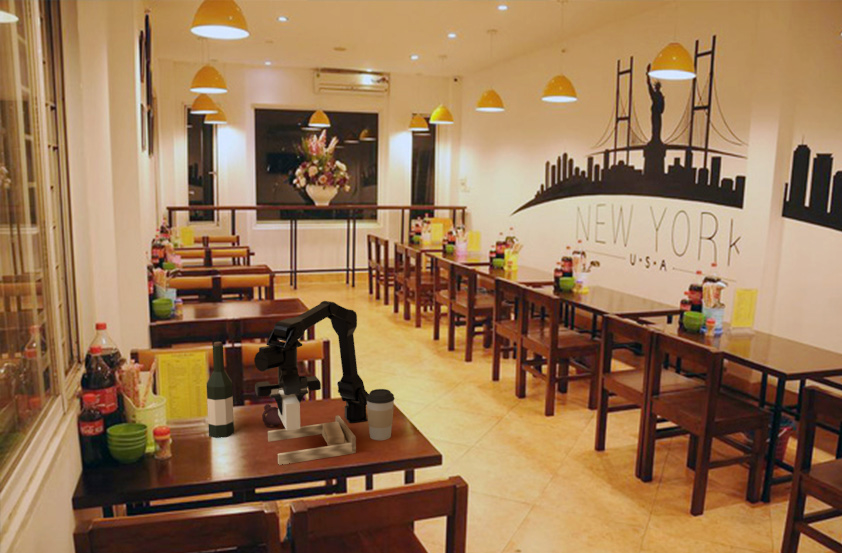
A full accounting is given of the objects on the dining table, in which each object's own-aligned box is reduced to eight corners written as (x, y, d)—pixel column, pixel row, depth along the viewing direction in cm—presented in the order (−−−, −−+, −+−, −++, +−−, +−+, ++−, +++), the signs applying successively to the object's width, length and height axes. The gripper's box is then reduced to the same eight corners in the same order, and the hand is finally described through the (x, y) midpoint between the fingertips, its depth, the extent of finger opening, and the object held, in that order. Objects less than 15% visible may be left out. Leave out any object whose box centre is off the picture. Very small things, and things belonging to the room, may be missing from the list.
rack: (339, 430, 210) (339, 415, 209) (355, 452, 192) (355, 437, 192) (268, 440, 201) (267, 425, 201) (278, 465, 184) (278, 448, 183)
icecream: (293, 412, 208) (277, 402, 221) (271, 410, 204) (256, 401, 217) (289, 433, 208) (273, 422, 220) (267, 432, 204) (252, 421, 216)
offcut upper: (338, 429, 206) (338, 421, 205) (344, 443, 194) (344, 436, 194) (322, 430, 204) (322, 423, 204) (327, 445, 193) (327, 437, 193)
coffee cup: (360, 438, 203) (360, 392, 201) (375, 428, 211) (375, 384, 209) (385, 443, 199) (385, 397, 197) (399, 433, 207) (399, 389, 205)
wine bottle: (238, 428, 211) (235, 339, 206) (228, 438, 202) (225, 346, 198) (214, 427, 211) (210, 339, 207) (203, 437, 203) (199, 345, 199)
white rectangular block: (291, 412, 200) (290, 388, 199) (300, 428, 187) (299, 402, 186) (278, 414, 199) (277, 389, 198) (286, 430, 186) (285, 404, 185)
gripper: (259, 374, 180) (261, 427, 182) (324, 367, 187) (325, 418, 189) (254, 363, 190) (255, 414, 192) (316, 357, 197) (316, 406, 199)
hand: (288, 413), depth 193 cm, fingers closed on white rectangular block, 4 cm apart
